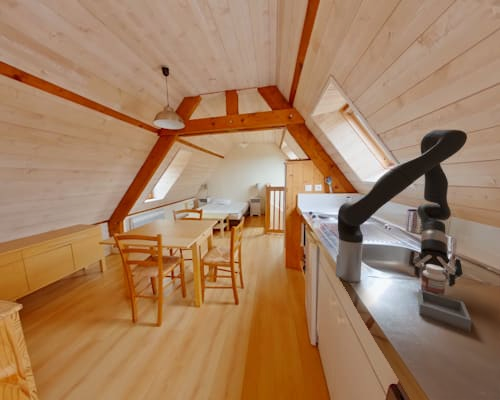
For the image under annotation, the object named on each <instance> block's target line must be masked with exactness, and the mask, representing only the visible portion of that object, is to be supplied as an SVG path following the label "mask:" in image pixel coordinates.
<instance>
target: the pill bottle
mask: <svg viewBox="0 0 500 400" xmlns="http://www.w3.org/2000/svg"><path fill="white" fill-rule="evenodd" d="M444 273H445V272H444V269H443V268H442V267H440V266H437V265H432V264H427V265H425V269H424V270H423V271H422V274H421V275H422V276H421V284H420V285H421V286H420V290H422V291H426V292H430V293H433V294H437V295H440V296H444V297H445V292H446V282H447V276H446V275H445V274H444Z"/></svg>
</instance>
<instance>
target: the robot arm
mask: <svg viewBox="0 0 500 400" xmlns="http://www.w3.org/2000/svg"><path fill="white" fill-rule="evenodd" d="M467 140H468V135H467V133H466V132H465V131H464V130H460V129H431V130H430V131H427V132H426V133H425V134H424V136H422V138H421V140H420V153H421V154H420V155H419V156H417V157H414V158H411V159H409V160H406V161H403V162H401V163H399V164H397V165H394V166H392V168H389V170H387V171H386V172H385V173H384V174H382V176H380V178H379V179H377V180H376V182H375V184H374V185H373V186H372V188H371V189H370V191H369V192H368V193H367V194H365V195H364V196H363V197H362V198H361V199H359V200H357V201H356V202H345V203H343V204H342V205H341V206H340V207H339V209H338V211H337V232H338V245H337V246H338V250H337V255H336V261H335V262H336V263H335V277H337V278H339V279H340V280H343V281H345V282H349V283H358V282H360V281H361V277H362V258H363V244H364V236H363V232H362V230H361V225H364V223H366V222H367V221H368V220H369V219H370V218H371V217H372V216H373V215H374V214H375V213H377V212H378V211H379V209H381V208H382V207H383V206H384V205H386V204H387V203H388V202H390V201H391V200H392V199H394V198H396V196H398V195H399V194H401V193H402V192H403V191H405V190H406V189H407V188H408V187H409V186H411V185H412V184H413V183H414V182H416V181H417V180H418V179H419V178H421V177H423V176H424V188H423V199H424V200H425V201H427V202H428V203H422V204H420V205H419V206H418V207H417V215H418V217H419V219H420V222H421V236H420V252H419V253H418V252H416V251H414V250H411V251H410V252H409V253H410V255H409V259H408V260H409V261H408V266H409V267H412V268H414V272H413V273H414V276H415V277H416V279H420V272H421V271H420V269H421V268H422V267H424V266H426V265H427V264H432V265H437V266H440V267H442V268H443V269H444V273H446V274H447V276H448V277H447V278H448V280H447V281H448V284H447V285H448V287H450V288H452V287H455V284H456V278H462V276H463V267H462V263H461V259H459V258H455V259H450V258H449V257H448V243H447V242H448V241H447V236H446V235H447V234H446V225H445V223H444V222H443V221H447V220H448V219H450V217H451V216H452V213H451V209H450V207H449V204H448V188H449V181H448V178H447V176H446V173H445V172H444V170H443V168H442V166H441V163H443V162H444V161H446V160H447V159H449V158H451V157H452V156H454V155H456V153H458V152H459V151H460V150H461V149H462V148H463V147H464V145H465V144H466V143H467ZM429 202H430V203H429ZM432 203H433V204H432ZM417 257H418V258H419V259H420V260H419V261H418V262H417V263H416V262H414V261H415V259H416V258H417ZM449 263H450V264H451V266H453V267H454V270H453V269H452V268H451V267H450V265H448V264H449Z"/></svg>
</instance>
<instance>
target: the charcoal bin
mask: <svg viewBox="0 0 500 400" xmlns="http://www.w3.org/2000/svg"><path fill="white" fill-rule="evenodd" d="M417 301H418V312H419V315H420V316H422V317H426V318H429V319H432V320H435V321H437V322H440V323H443V324H446V325H449V326H451V327H454V328H457V329H460V330H463V331H465V332H469V333H471V328H472V318H471V316H470V313H469V311H468V309H467V308H466V305H465V303H464V301H461V300H458V299H453V298H452V297H451V298H450V297H447V296H445V295H444V296H440V295H437V294H433V293H430V292H426V291H422V290H421V289H418V296H417Z"/></svg>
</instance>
